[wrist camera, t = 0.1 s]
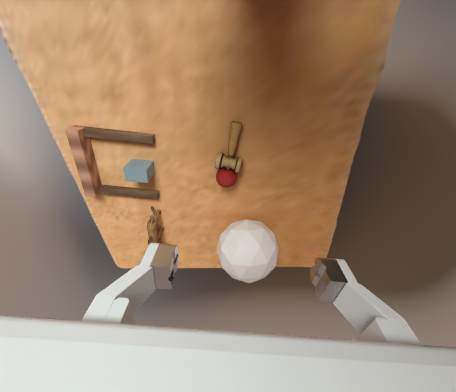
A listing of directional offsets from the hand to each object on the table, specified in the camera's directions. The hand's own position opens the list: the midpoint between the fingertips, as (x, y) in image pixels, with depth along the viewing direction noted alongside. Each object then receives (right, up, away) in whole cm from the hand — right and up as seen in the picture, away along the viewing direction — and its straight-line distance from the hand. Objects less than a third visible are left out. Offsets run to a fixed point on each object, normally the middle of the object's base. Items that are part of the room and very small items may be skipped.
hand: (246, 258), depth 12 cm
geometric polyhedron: (+5, -8, +63) cm, 63 cm away
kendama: (-1, +16, +47) cm, 50 cm away
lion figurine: (-26, -6, +62) cm, 67 cm away
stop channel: (-33, +13, +49) cm, 60 cm away
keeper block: (-26, +13, +50) cm, 57 cm away
